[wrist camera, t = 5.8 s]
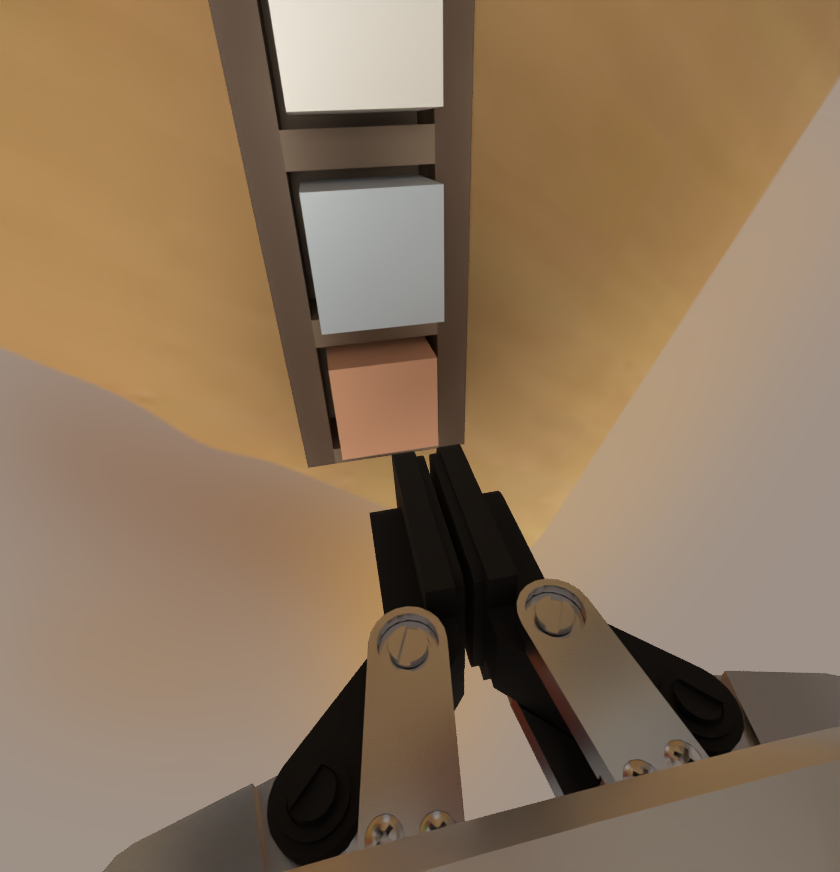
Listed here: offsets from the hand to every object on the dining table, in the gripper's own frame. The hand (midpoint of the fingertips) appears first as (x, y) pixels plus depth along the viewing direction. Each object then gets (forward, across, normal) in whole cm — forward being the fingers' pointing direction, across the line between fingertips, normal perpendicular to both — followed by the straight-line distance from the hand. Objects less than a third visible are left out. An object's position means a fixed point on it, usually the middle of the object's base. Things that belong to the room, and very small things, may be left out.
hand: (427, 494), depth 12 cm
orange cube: (+13, 0, +3) cm, 13 cm away
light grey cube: (+12, 0, -4) cm, 12 cm away
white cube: (+12, 0, -10) cm, 15 cm away
